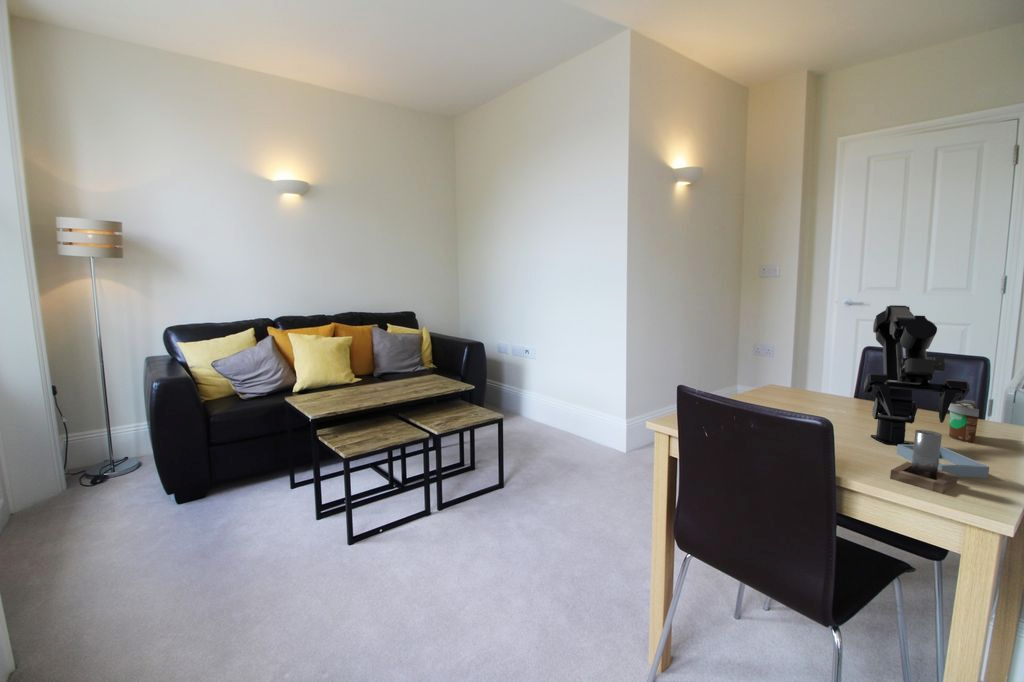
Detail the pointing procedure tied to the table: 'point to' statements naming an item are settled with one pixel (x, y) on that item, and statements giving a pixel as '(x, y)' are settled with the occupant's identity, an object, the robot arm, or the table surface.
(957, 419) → the food container
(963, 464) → the tray
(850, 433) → the table surface
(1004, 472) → the table surface
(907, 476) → the socket block
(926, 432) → the metallic grey cylinder
